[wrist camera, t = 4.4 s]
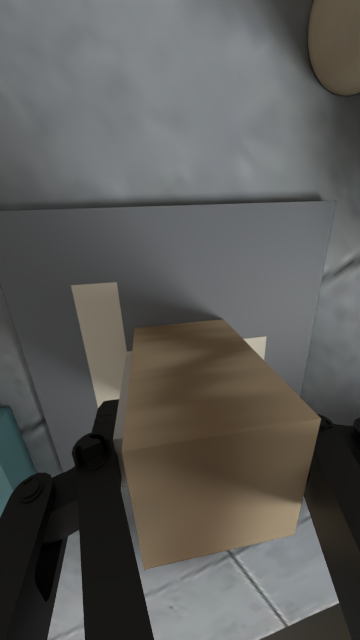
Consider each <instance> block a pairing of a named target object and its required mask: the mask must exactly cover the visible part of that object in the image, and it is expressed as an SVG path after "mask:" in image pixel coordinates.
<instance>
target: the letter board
mask: <svg viewBox="0 0 360 640" xmlns="http://www.w3.org/2000/svg"><path fill="white" fill-rule="evenodd" d="M335 205H336V201H308V202H275V203H243V204H210V205H178V206H145V207H113V208H80V209H48V210H15V211H0V285H1V288H2V291H3V294H4V297H5V300H6V303H7V306H8V309H9V312H10V315H11V318H12V321H13V324H14V327H15V330H16V333H17V336H18V339H19V342H20V345H21V348H22V351H23V354H24V357H25V360H26V363H27V366H28V369H29V372H30V375H31V378H32V381H33V384H34V387H35V390H36V393H37V396H38V399H39V402H40V405H41V408H42V411H43V414H44V417H45V420H46V422H47V425H48V428H49V431H50V434H51V437H52V440H53V443H54V446H55V449H56V452H57V455H58V458H59V461H60V464H61V467H62V470H63V473H64V472H66V471H68V470H70V469H72V468H73V467H74V466H75V463H74V460H73V457H72V449H73V447H74V445H75V443H76V442H77V441H78V440H79V439H80V438H81V437H83V436H84V435H86V434H88V433H91V432H92V428H93V425H94V421H95V418H96V414H97V410H98V408H99V407H100V405H101V404H102V403H103V401H108V400H115V399H119V397H120V391H121V384H122V378H123V371H124V365H125V358H126V355H132V349H133V339H134V330H135V328H138V327H148V326H159V325H169V324H179V323H189V322H200V321H210V320H220V319H224V320H225V321H226V322H227V323H228V324H229V325H230V326H231V327H232V328H233V329H234V330H235V331H236V332H237V333H238V334H239V335H240V336H241V337H242V338H243V339H244V340H245V341H246V342H247V343H248V344H249V345H250V346H251V348H252V349H253V350H254V351H255V352H256V353H257V354H258V355H259V356H260V357H261V358H262V359H263V360H264V361H265V362H266V363H267V364H268V365H269V366H270V367H271V368H272V369H273V370H274V371H275V372H276V373H277V374H278V375H279V376H280V377H281V378H282V379H283V380H284V381H285V382H286V383H287V384H288V385H289V386H290V387H291V388H292V389H293V390H294V391H295V392H296V393H297V394H298V396H299V397H301V392H302V386H303V381H304V375H305V370H306V364H307V359H308V353H309V348H310V342H311V337H312V331H313V326H314V320H315V315H316V309H317V304H318V298H319V293H320V287H321V282H322V276H323V271H324V265H325V260H326V254H327V249H328V243H329V238H330V232H331V227H332V221H333V216H334V210H335Z"/></svg>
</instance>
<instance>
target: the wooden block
mask: <svg viewBox="0 0 360 640" xmlns="http://www.w3.org/2000/svg"><path fill="white" fill-rule="evenodd" d="M320 422H321V418H320V417H319V416H318V415H317V414H316V413H315V412H314V411H313V410H312V409H311V408H310V407H309V406H308V405H307V404H306V403H305V402H304V401H303V400H302V399H301V398H300V397H299V396H298V394H297V393H296V392H295V391H294V390H293V389H292V388H291V387H290V386H289V385H288V384H287V383H286V382H285V381H284V380H283V379H282V378H281V377H280V376H279V375H278V374H277V373H276V372H275V371H274V370H273V369H272V368H271V367H270V366H269V365H268V364H267V363H266V362H265V361H264V360H263V359H262V358H261V357H260V356H259V355H258V354H257V353H256V352H255V351H254V350H253V349H252V348H251V346H250V345H249V344H248V343H247V342H246V341H245V340H244V339H243V338H242V337H241V336H240V335H239V334H238V333H237V332H236V331H235V330H234V329H233V328H232V327H231V326H230V325H229V324H228V323H227V322H226V321H225V320H224V319H220V320H210V321H200V322H189V323H179V324H169V325H159V326H148V327H138V328H135V330H134V339H133V349H132V358H131V368H130V377H129V387H128V396H127V405H126V415H125V424H124V434H123V443H122V456H123V462H124V467H125V472H126V477H127V483H128V488H129V493H130V498H131V504H132V509H133V514H134V519H135V525H136V530H137V535H138V540H139V546H140V551H141V556H142V562H143V567H144V570H145V569H149V568H154V567H158V566H162V565H166V564H171V563H175V562H179V561H184V560H188V559H192V558H197V557H201V556H205V555H209V554H214V553H218V552H222V551H227V550H231V549H235V548H240V547H244V546H248V545H252V544H257V543H261V542H265V541H270V540H274V539H278V538H283V537H287V536H291V535H294V534H295V530H296V526H297V521H298V517H299V513H300V508H301V504H302V500H303V495H304V491H305V487H306V482H307V478H308V474H309V469H310V465H311V461H312V456H313V452H314V448H315V443H316V439H317V435H318V430H319V426H320Z"/></svg>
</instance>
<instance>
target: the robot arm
mask: <svg viewBox="0 0 360 640" xmlns="http://www.w3.org/2000/svg"><path fill="white" fill-rule="evenodd" d="M131 358H132V355H126V358H125V365H124V371H123V378H122V384H121V391H120V397H119V399H115V400H108V401H103V403H102V404H101V405H100V407H99V408H98V410H97V414H96V418H95V421H94V425H93V428H92V432H91V433H88V434H86V435H84V436H83V437H81V438H80V439H79V440H78V441H77V442H76V443H75V445H74V447H73V449H72V457H73V460H74V463H75V466H74V467H73V468H72V469H70V470H68V471H66V472H64V473H62V474H60V475H57V476H55V477H53V478H52V477H51V475H49V474H47V473H37V474H34V475H32V476H30V477H28V478H27V479H25V480H24V481H22V482H21V483H20V484H19V485H18V486H17V487H16V488H15V489H14V491H13V492H12V494H11V496H10V497H9V499H8V502H7V504H6V506H5V508H4V510H3V513H2V515H1V517H0V640H47V637H48V632H49V627H50V622H51V617H52V613H53V608H54V603H55V598H56V593H57V588H58V583H59V578H60V573H61V568H62V563H63V558H64V553H65V548H66V543H67V538H68V536H69V535H71V534H72V533H74V532H76V531H77V530H79V531H80V551H81V570H82V590H83V610H84V629H85V640H154V637H153V633H152V628H151V624H150V620H149V615H148V611H147V606H146V602H145V597H144V593H143V588H142V584H141V579H140V575H139V571H138V566H137V562H136V557H135V553H134V548H133V544H132V539H131V535H130V530H129V526H128V522H127V517H126V513H125V508H124V504H123V499H122V495H121V490H120V489H121V482H122V486H123V487H127V486H128V483H127V477H126V472H125V467H124V462H123V456H122V443H123V434H124V424H125V415H126V405H127V396H128V387H129V377H130V368H131ZM317 415H318V416H319V417H320V418H321V422H320V426H319V430H318V435H317V439H316V443H315V448H314V452H313V456H312V461H311V465H310V469H309V474H308V478H307V482H306V487H305V491H304V497H305V500H306V503H307V506H308V509H309V512H310V515H311V518H312V521H313V524H314V527H315V530H316V533H317V536H318V539H319V542H320V546H321V549H322V552H323V555H324V558H325V561H326V564H327V567H328V570H329V573H330V576H331V579H332V582H333V585H334V588H335V591H336V594H337V597H338V600H339V603H340V606H341V609H342V612H343V615H344V618H345V621H346V624H347V627H348V630H349V633H350V636H351V639H352V640H360V418H359V419H356V420H355V421H354V424H353V426H344V425H336V424H333V423H332V422H331V421H330V420H329V419H327V418H326V417H324V416H322V415H319V414H317Z"/></svg>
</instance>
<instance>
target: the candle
mask: <svg viewBox="0 0 360 640" xmlns="http://www.w3.org/2000/svg"><path fill="white" fill-rule="evenodd" d="M308 49H309V56H310V60H311V64H312V67H313V70H314V72H315V74H316V76H317V78H318V79H319V81H320V82H321V83H322V85H323V86H324V87H325V88H327V89H328V90H329V91H331V92H333V93H334V94H338V95H343V96H349V95H354V94H358V93H360V0H314V2H313V5H312V9H311V13H310V18H309V25H308Z"/></svg>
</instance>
